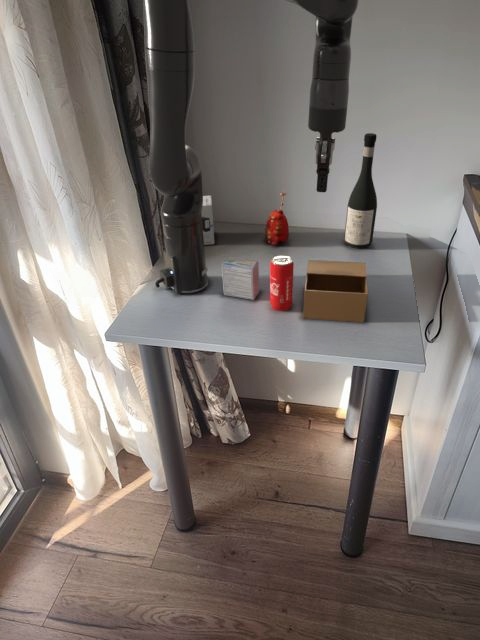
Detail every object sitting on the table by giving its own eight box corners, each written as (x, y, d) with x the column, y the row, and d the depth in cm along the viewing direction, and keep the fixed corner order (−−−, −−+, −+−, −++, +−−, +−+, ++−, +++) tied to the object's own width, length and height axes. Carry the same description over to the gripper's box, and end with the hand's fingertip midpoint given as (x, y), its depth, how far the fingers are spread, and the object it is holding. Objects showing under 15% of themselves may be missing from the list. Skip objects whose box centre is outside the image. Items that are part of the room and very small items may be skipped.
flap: (308, 260, 115) (308, 259, 115) (365, 263, 113) (365, 262, 113) (306, 274, 110) (306, 272, 110) (366, 277, 108) (366, 276, 108)
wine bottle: (368, 251, 136) (383, 139, 118) (341, 247, 139) (351, 136, 121) (374, 240, 142) (389, 131, 124) (347, 236, 145) (358, 129, 126)
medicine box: (259, 292, 119) (259, 260, 113) (253, 301, 115) (252, 268, 110) (230, 287, 121) (228, 255, 115) (223, 295, 117) (221, 263, 112)
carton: (306, 288, 120) (308, 262, 115) (361, 291, 118) (365, 265, 114) (303, 318, 109) (304, 290, 105) (363, 322, 107) (367, 294, 103)
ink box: (198, 233, 147) (194, 195, 140) (214, 232, 148) (211, 194, 141) (198, 245, 140) (194, 206, 133) (214, 244, 141) (212, 205, 134)
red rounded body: (261, 238, 144) (260, 188, 135) (282, 234, 146) (283, 185, 137) (272, 248, 138) (272, 197, 129) (293, 244, 141) (295, 193, 132)
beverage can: (292, 312, 111) (294, 265, 104) (270, 312, 111) (270, 265, 104) (291, 300, 115) (293, 254, 108) (270, 300, 115) (270, 254, 108)
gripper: (347, 111, 89) (338, 202, 100) (347, 98, 100) (339, 182, 110) (307, 109, 90) (302, 200, 100) (311, 97, 100) (306, 180, 111)
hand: (321, 190), depth 105 cm, fingers closed
